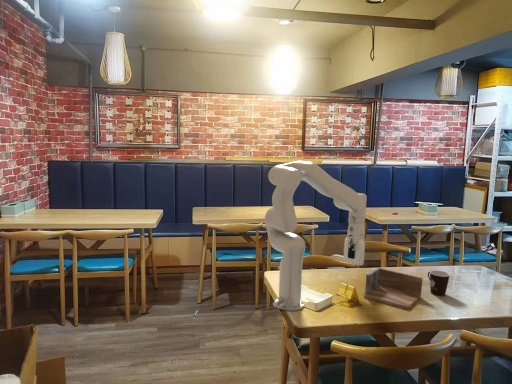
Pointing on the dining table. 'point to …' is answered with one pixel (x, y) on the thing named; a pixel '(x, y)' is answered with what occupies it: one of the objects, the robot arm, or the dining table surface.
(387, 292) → the shelf
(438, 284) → the coffee mug
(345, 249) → the white upright block
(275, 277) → the dining table surface
